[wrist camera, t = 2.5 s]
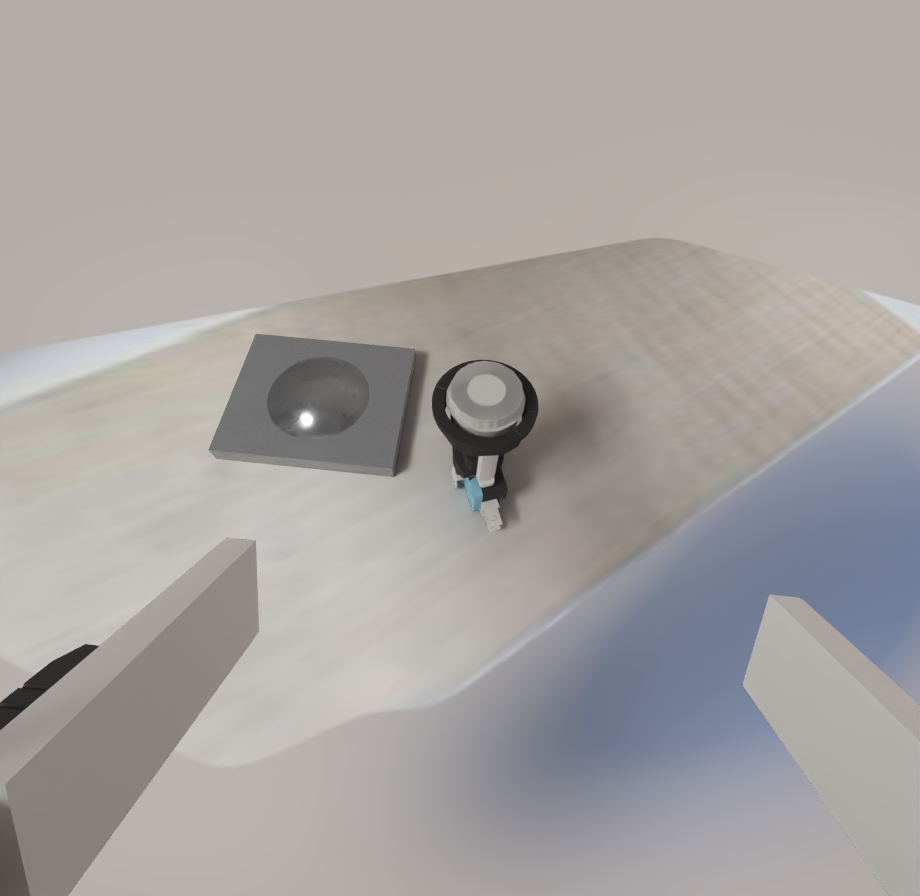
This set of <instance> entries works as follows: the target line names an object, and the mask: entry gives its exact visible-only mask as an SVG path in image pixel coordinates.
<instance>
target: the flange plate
mask: <svg viewBox="0 0 920 896" xmlns="http://www.w3.org/2000/svg"><path fill="white" fill-rule="evenodd" d="M414 365H415V349H408V348H398V347H387V346H377V345H366V344H356V343H346V342H335V341H325V340H314V339H304V338H294V337H283V336H273V335H262V334H256V335H255V337H254V340H253V342H252V345H251V347H250V350H249V352H248V355H247V357H246V360H245V362H244V364H243V367H242V369H241V372H240V374H239V377H238V379H237V382H236V384H235V386H234V389H233V391H232V394H231V396H230V399H229V401H228V404H227V406H226V408H225V411H224V413H223V416H222V418H221V421H220V423H219V426H218V428H217V431H216V433H215V435H214V438H213V440H212V443H211V445H210V448H209V451H210V452H211V453H212V454H213V455H214V456H215V458H216V459H226V460H236V461H245V462H255V463H265V464H275V465H284V466H294V467H304V468H314V469H323V470H333V471H343V472H353V473H362V474H372V475H382V476H392V477H394V473H395V467H396V462H397V456H398V451H399V446H400V440H401V435H402V429H403V424H404V419H405V413H406V408H407V402H408V397H409V392H410V386H411V381H412V375H413V370H414Z"/></svg>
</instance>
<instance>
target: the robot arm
mask: <svg viewBox="0 0 920 896" xmlns="http://www.w3.org/2000/svg"><path fill="white" fill-rule="evenodd" d="M258 632H259V621H258V591H257V562H256V541H254V540H245V539H235V538H226V539H225V540H223V541H222V542H221V543H220V544H219V545H218V546H216V547H215V548H214V549H213V550H212V551H210V552H209V553H208V554H207V555H206V556H205V557H203V558H202V559H201V560H200V561H199V562H198V563H196V564H195V565H194V566H193V567H192V568H191V569H189V570H188V571H187V572H186V573H185V574H183V575H182V576H181V577H180V578H179V579H178V580H176V581H175V582H174V583H173V584H172V585H171V586H169V587H168V588H167V589H166V590H165V591H163V592H162V593H161V594H160V595H159V596H158V597H156V598H155V599H154V600H153V601H152V602H151V603H149V604H148V605H147V606H146V607H145V608H144V609H142V610H141V611H140V612H139V613H138V614H136V615H135V616H134V617H133V618H132V619H131V620H129V621H128V622H127V623H126V624H125V625H124V626H122V627H121V628H120V629H119V630H118V631H116V632H115V633H114V634H113V635H112V636H111V637H109V638H108V639H107V640H106V641H105V642H104V643H102V644H101V645H100V646H96V645H87V644H85V645H83V646H81V647H79V648H77V649H75V650H73V651H71V652H69V653H67V654H66V655H64V656H62V657H60V658H58V659H56V660H54V661H52V662H51V663H49V664H48V665H47V666H46V667H44V668H43V669H42V670H41V671H39V672H38V673H37V674H36V675H34V676H33V677H32V678H30V679H29V680H28V681H27V682H25V683H24V686H23V687H22V688H18V689H17V690H15V691H14V692H13V693H12V694H10V695H9V696H8V697H7V698H5V699H4V700H3V701H2V702H0V896H68V895H69V893H70V892H71V891H72V889H73V888H74V887H75V885H76V884H77V883H78V881H79V880H80V879H81V877H82V876H83V874H84V873H85V872H86V870H87V869H88V867H89V866H90V864H91V863H92V862H93V860H94V859H95V858H96V856H97V855H98V853H99V852H100V851H101V849H102V848H103V847H104V845H105V844H106V843H107V841H108V840H109V838H110V837H111V836H112V834H113V833H114V831H115V830H116V829H117V827H118V826H119V825H120V823H121V822H122V820H123V819H124V817H125V816H126V815H127V813H128V812H129V811H130V809H131V808H132V807H133V805H134V804H135V802H136V801H137V800H138V798H139V797H140V795H141V794H142V793H143V791H144V790H145V789H146V787H147V786H148V784H149V783H150V782H151V780H152V779H153V777H154V776H155V775H156V773H157V772H158V771H159V769H160V768H161V766H162V765H163V763H164V762H165V761H166V759H167V758H168V757H169V755H170V754H171V752H172V751H173V750H174V748H175V747H176V746H177V744H178V743H179V741H180V740H181V739H182V737H183V736H184V735H185V733H186V732H187V730H188V729H189V728H190V726H191V725H192V723H193V722H194V721H195V719H196V718H197V717H198V715H199V714H200V712H201V711H202V710H203V708H204V707H205V705H206V704H207V703H208V701H209V700H210V699H211V697H212V696H213V694H214V693H215V692H216V690H217V689H218V687H219V686H220V685H221V683H222V682H223V681H224V679H225V678H226V676H227V675H228V674H229V672H230V671H231V669H232V668H233V667H234V665H235V664H236V663H237V661H238V660H239V658H240V657H241V656H242V654H243V653H244V651H245V650H246V649H247V647H248V646H249V645H250V643H251V642H252V640H253V639H254V638H255V636H256V635H257V633H258ZM742 685H743V686H744V688H745V689H746V691H747V692H748V694H749V695H750V697H751V698H752V699H753V701H754V702H755V704H756V705H757V707H758V708H759V709H760V711H761V712H762V714H763V715H764V717H765V718H766V720H767V721H768V723H769V724H770V725H771V727H772V728H773V730H774V731H775V733H776V734H777V735H778V737H779V738H780V740H781V741H782V742H783V744H784V746H785V747H786V748H787V750H788V751H789V753H790V754H791V755H792V757H793V758H794V760H795V761H796V763H797V764H798V766H799V767H800V769H801V770H802V771H803V773H804V774H805V776H806V777H807V779H808V780H809V782H810V783H811V784H812V786H813V787H814V789H815V790H816V792H817V793H818V794H819V796H820V797H821V799H822V800H823V802H824V803H825V804H826V806H827V807H828V809H829V810H830V812H831V813H832V815H833V816H834V817H835V819H836V820H837V822H838V823H839V825H840V826H841V828H842V829H843V830H844V832H845V833H846V835H847V836H848V838H849V839H850V840H851V842H852V843H853V845H854V846H855V848H856V849H857V851H858V852H859V853H860V855H861V856H862V858H863V859H864V861H865V862H866V864H867V865H868V866H869V868H870V869H871V870H872V872H873V874H874V875H875V876H876V878H877V879H878V881H879V882H880V884H881V885H882V887H883V888H884V889H885V891H886V892H887V894H888V895H889V896H920V704H919V703H918V702H917V701H915V700H914V699H913V698H912V697H911V696H910V695H909V694H908V693H906V692H905V691H904V690H903V689H902V688H901V687H900V686H899V685H898V684H896V683H895V682H894V681H893V680H892V679H891V678H890V677H889V676H887V675H886V674H885V673H884V672H883V671H882V670H881V669H880V668H878V667H877V666H876V665H875V664H874V663H873V662H872V661H871V660H869V659H868V658H867V657H866V656H865V655H864V654H863V653H862V652H861V651H859V650H858V649H857V648H856V647H855V646H854V645H853V644H852V643H851V642H849V641H848V640H847V639H846V638H845V637H844V636H843V635H841V634H840V633H839V632H838V631H837V630H836V629H835V628H834V627H833V626H832V625H830V624H829V623H828V622H827V621H826V620H825V619H824V618H823V617H822V616H820V615H819V614H818V613H817V612H816V611H815V610H814V609H813V608H811V607H810V606H809V605H808V604H807V603H806V602H805V601H803V600H802V599H801V598H799V597H789V596H780V595H769V598H768V601H767V605H766V608H765V611H764V615H763V618H762V621H761V625H760V628H759V631H758V635H757V638H756V641H755V644H754V648H753V651H752V655H751V658H750V661H749V664H748V668H747V671H746V674H745V678H744V681H743V684H742Z"/></svg>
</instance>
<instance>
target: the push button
mask: <svg viewBox="0 0 920 896" xmlns="http://www.w3.org/2000/svg"><path fill="white" fill-rule="evenodd" d="M446 406H447V407H448V409H449V410H450V412H451V421H450V419H449V418H448V416H447V414H446V411H445V408H446ZM432 411H433V416H434V419H435V421H436V423H437V425H438V427H439V429H440V430H441V431H442V433H443V434H444V435H445V437H446V438H447V439H448V441H449V442H450V443H451V445H452V446H453V450H452V451H453V464H454V465H453V466H452V479H453V482H454V485H455V488H456V489H457V481H459V480H463V482H464V486H465V489H466V492H467V495H468V499H469V502H470V505H471V508H472V511H477V510H480V513H481V516H482V517H484V518H485V521H486V524H487V527H488V531H489V532H493V531H497V530H500V529H501V527H500V525H502V520H501V517H500V514H499V511H498V508H500V506H499V500H500V499H503V498H505V497H506V493H507V485H506V482H505V479H504V476H503V474H502V469H501V467H502V463H503V459H504V454H506V453H507V452H509V451H511V450H512V449H514V448H516V447H517V446H518V445H519V443H520V441H521V440H522V439H524V438H525V437H526V436H527V435H528V433H529V432H530V431H531V429H532V427H533V426H534V423H535V421H536V417H537V414H538V399H537V395H536V392H535V390H534V388H533V386H532V384H531V383H530V381H529V380H528V379H527V378H526V377H525V376H524V375H523V374H522V373H520V372H519V371H518V370H516V369H515V368H513V367H511V366H509V365H506V364H504V363H501V362H497V361H491V360H475V361H469V362H465V363H462V364H460V365H457V366H455V367H454V368H452V369H450V370H449V371H448V372H446V373H445V374H444V375H443V376H442V377H441V379H440V380H439V381H438V383H437V385H436V387H435V389H434V392H433V396H432ZM521 415H522V421H521V423H520V424H519V425H518V426H517V427H516V424H517V420H518V418H519V417H520V416H521ZM492 520H493V521H492Z"/></svg>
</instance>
